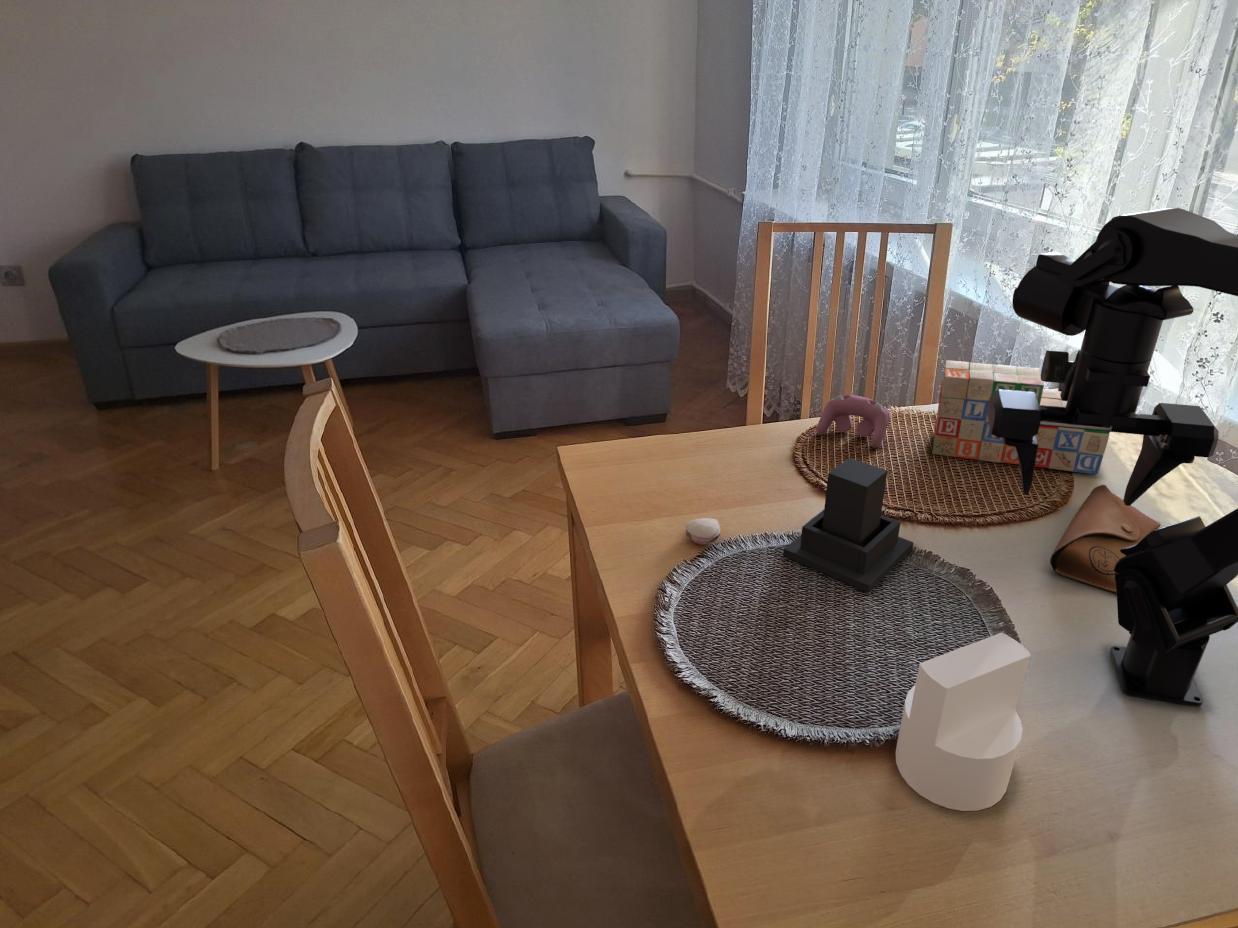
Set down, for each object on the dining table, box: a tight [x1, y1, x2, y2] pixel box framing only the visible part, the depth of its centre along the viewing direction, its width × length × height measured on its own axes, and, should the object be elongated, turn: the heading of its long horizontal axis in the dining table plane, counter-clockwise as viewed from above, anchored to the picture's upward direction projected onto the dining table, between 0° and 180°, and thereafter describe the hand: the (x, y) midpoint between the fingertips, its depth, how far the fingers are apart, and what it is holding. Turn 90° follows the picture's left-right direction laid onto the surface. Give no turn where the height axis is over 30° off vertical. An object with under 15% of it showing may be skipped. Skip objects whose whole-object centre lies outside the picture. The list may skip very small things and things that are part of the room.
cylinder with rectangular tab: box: [895, 632, 1032, 812], centre depth 68 cm, size 9×9×12 cm
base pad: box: [782, 509, 914, 593], centre depth 97 cm, size 11×11×4 cm
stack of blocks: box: [932, 359, 1111, 475], centre depth 115 cm, size 21×6×12 cm, turn 70°
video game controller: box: [816, 394, 891, 449], centre depth 123 cm, size 10×5×7 cm, turn 58°
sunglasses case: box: [1049, 484, 1162, 594], centre depth 97 cm, size 18×7×7 cm, turn 141°
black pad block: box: [822, 457, 889, 548], centre depth 95 cm, size 5×5×10 cm
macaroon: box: [684, 517, 721, 546], centre depth 101 cm, size 4×5×2 cm
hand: (1075, 497), depth 83 cm, fingers open, 9 cm apart
